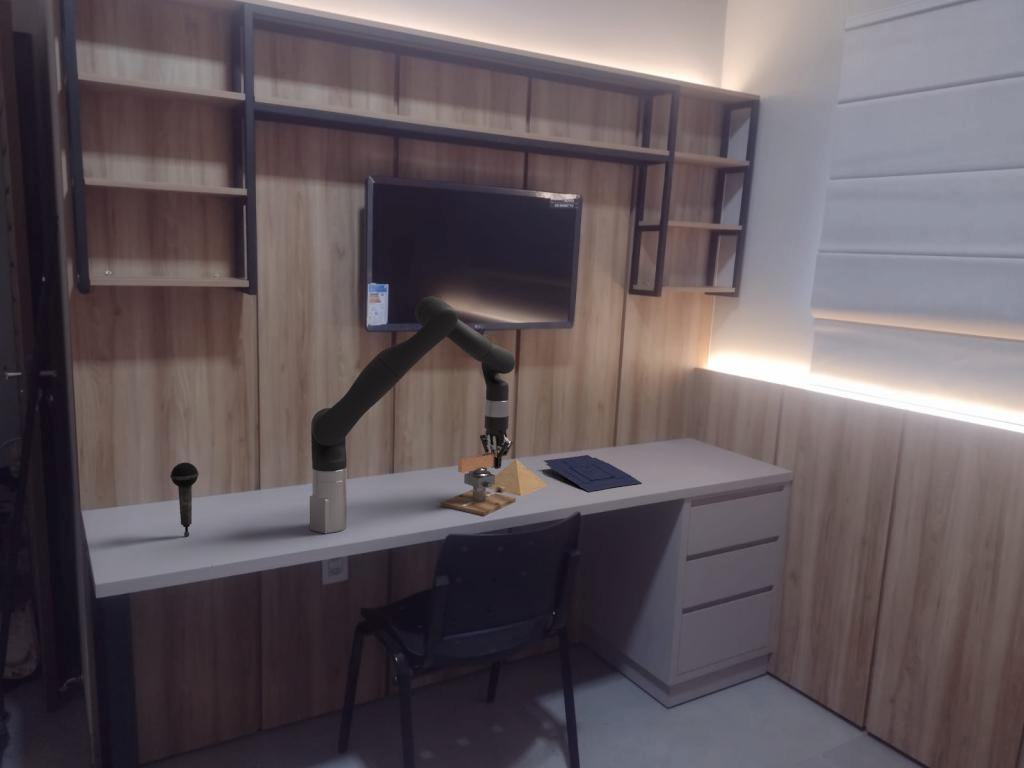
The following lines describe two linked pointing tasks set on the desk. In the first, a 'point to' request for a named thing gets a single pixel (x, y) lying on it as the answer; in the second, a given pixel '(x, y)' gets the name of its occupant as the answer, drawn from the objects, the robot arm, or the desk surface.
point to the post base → (478, 501)
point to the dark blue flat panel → (591, 472)
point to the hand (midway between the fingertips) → (495, 467)
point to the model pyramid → (517, 480)
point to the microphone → (185, 490)
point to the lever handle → (478, 470)
